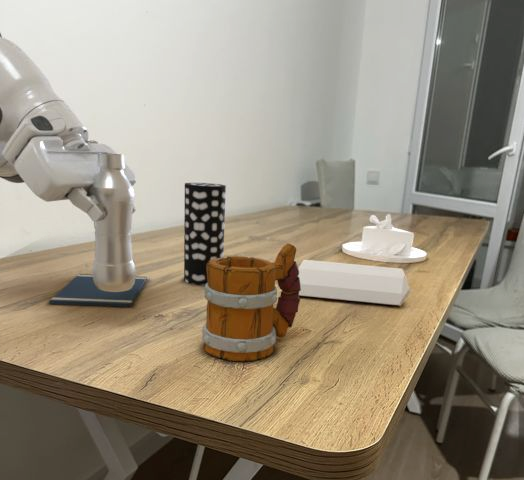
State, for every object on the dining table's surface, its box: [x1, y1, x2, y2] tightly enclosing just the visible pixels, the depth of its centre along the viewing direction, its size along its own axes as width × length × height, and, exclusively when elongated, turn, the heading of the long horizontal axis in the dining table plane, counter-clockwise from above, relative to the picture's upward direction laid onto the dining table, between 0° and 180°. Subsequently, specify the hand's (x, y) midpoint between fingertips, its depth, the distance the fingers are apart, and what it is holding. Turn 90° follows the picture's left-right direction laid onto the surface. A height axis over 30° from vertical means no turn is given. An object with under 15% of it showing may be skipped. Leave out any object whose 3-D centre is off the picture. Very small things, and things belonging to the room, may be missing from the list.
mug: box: [201, 243, 301, 362], centre depth 75 cm, size 11×16×15 cm, turn 125°
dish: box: [341, 213, 428, 264], centre depth 153 cm, size 25×25×11 cm
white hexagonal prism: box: [298, 259, 411, 307], centre depth 105 cm, size 7×7×24 cm
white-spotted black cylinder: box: [183, 182, 227, 287], centre depth 109 cm, size 8×8×20 cm
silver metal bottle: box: [89, 153, 137, 292], centre depth 77 cm, size 6×7×20 cm
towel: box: [48, 273, 148, 308], centre depth 101 cm, size 14×20×1 cm
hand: (116, 216), depth 76 cm, fingers closed on silver metal bottle, 6 cm apart
